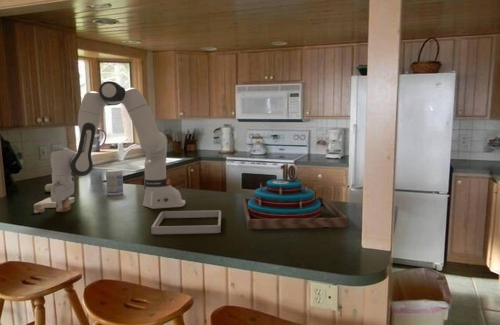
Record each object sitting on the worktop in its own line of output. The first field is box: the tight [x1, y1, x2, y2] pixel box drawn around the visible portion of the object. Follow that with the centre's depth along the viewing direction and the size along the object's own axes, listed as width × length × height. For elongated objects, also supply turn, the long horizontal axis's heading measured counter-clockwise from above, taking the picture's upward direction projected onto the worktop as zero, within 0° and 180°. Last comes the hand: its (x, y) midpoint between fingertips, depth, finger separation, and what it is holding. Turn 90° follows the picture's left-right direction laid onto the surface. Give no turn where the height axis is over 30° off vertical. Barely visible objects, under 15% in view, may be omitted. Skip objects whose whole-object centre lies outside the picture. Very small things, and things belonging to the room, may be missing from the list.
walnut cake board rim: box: [242, 196, 349, 230], centre depth 188 cm, size 43×43×4 cm
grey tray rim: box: [150, 210, 222, 235], centre depth 172 cm, size 28×26×3 cm
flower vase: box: [44, 183, 53, 193], centre depth 235 cm, size 12×12×35 cm
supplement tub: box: [105, 169, 124, 196], centre depth 238 cm, size 10×10×15 cm
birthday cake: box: [247, 163, 322, 219], centre depth 188 cm, size 35×35×24 cm
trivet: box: [37, 196, 76, 209], centre depth 211 cm, size 14×14×2 cm
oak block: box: [55, 200, 72, 213], centre depth 199 cm, size 5×5×5 cm
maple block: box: [33, 202, 46, 214], centre depth 196 cm, size 4×4×4 cm
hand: (63, 206), depth 199 cm, fingers open, 5 cm apart
